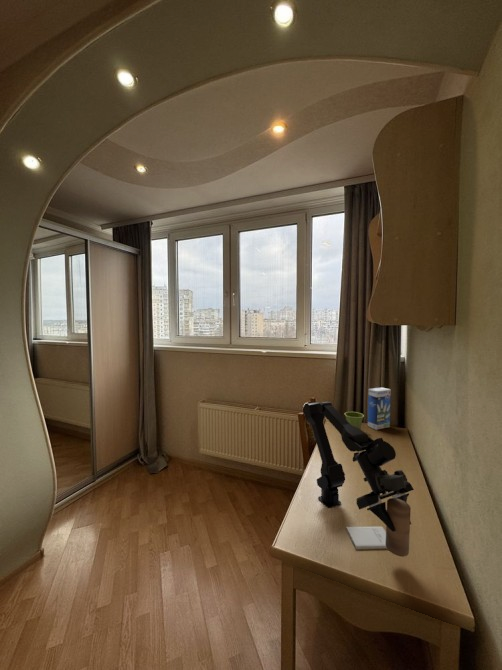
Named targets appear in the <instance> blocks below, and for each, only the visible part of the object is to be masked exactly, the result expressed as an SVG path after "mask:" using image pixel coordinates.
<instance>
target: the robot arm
mask: <svg viewBox="0 0 502 670" xmlns="http://www.w3.org/2000/svg"><path fill="white" fill-rule="evenodd" d="M302 413H303V416H304V418H305V420H306V421H307V422H308V423H309V424H310V426H311V429H312V431H313V435H314V439H315V443H316V445H317V450H318V453H319V456H320V461H321V466H320V471H319V472H320V476H319V477H318V478H317V479H316V485H317V486H318V487H319V488H320V491H321V493H320V494H321V495H320V496H318V497H317V499H318V500H319V501H320V502H321V503H323V505H324V506H325V507H326V508H328V509H330V508H334V507H335V506H339V505H342V502H341V500H340V499H339V498H340V497H339V496H340V494H339V488H341V487H343V485H344V483H345V481H346V474H345V471H344V467H343V465H342V464H341V463H339V462H337V461H336V459H335V457H334V453H333V450H332V447H331V443H330V441H329V437H328V434H327V431H326V427H325V424H324V419H325V418H326V419H327V421H329V423H331V425H332V426H333V427H334V429H336V430H337V432H338V433H339V434H340V436H341V441H342V442H343V444H344V446H345V447H346V449H348V451H350V452H354V453H353V457H352V462H353V463H355V462H357V463H358V465H359V466H360V469H361V471H362V473H363V475H364V478H363V477H362V478H363V481H364V482H365V483H366V482H367V483H368V485H369V487H370V489H371V491H370V492H369V493H367V494H366V493H365V494H364V495H361V496H360V497H357V498H356V501H355V502H356V506H357V507H358V510H362V509H365V508H366V510H367V511H370V512H371V513H373V515H375V516H376V517H377V518H378V519H379V520H380V521H381V522H383V524H384V525H386V526H387V527H388V528H389V529H390V530H391V531H393V532H394V531H396V530H395V527H394V525H393V523H392V521H391V519H390V517H389V515H388V512H387V501H383V502H382V500H384V499H387V498H389V497H390V498H391V497H392V498H397V499H400V500H403V501H405V502H406V503H407V500H408V497H409V496H410V493H409V492H411V491H414V487H413V485H412V484H411V483H410V482H409V481H408V479H407V476H406V474H405V473H404V471H403V470H402V469H401V470H400V469H399V470H395V471H394V473H393V474H389V473H388V471H387V470H386V469H382V466H383V465H386V464H388V463H389V462H391V461H394V460H395V459H396V457H397V454H396V453H397V452H396V450H395V448H394V446H392V445H391V444H390V443H389V442H387V441H385V440H384V439H383V438H382V437H377V438H376V439H373V438H372V437H370V436H368V435H367V433H366V432H365V431H363V430H362V429H359V428H357V427H355V426H352V425H351V424H350V423H349V422H348V421H347V420H346V417H344V416H343V415H342V414H341V413H340V412H339V411H338V410H337V409H336V408H335V407H334V406H333V404H332V402H331V401H323V402H321V401H320V402H319V401H314V402H307V403H304V405H303V407H302ZM407 504H408V503H407ZM410 525H412V521H411V520H410ZM386 526H385V527H386Z"/></svg>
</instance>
